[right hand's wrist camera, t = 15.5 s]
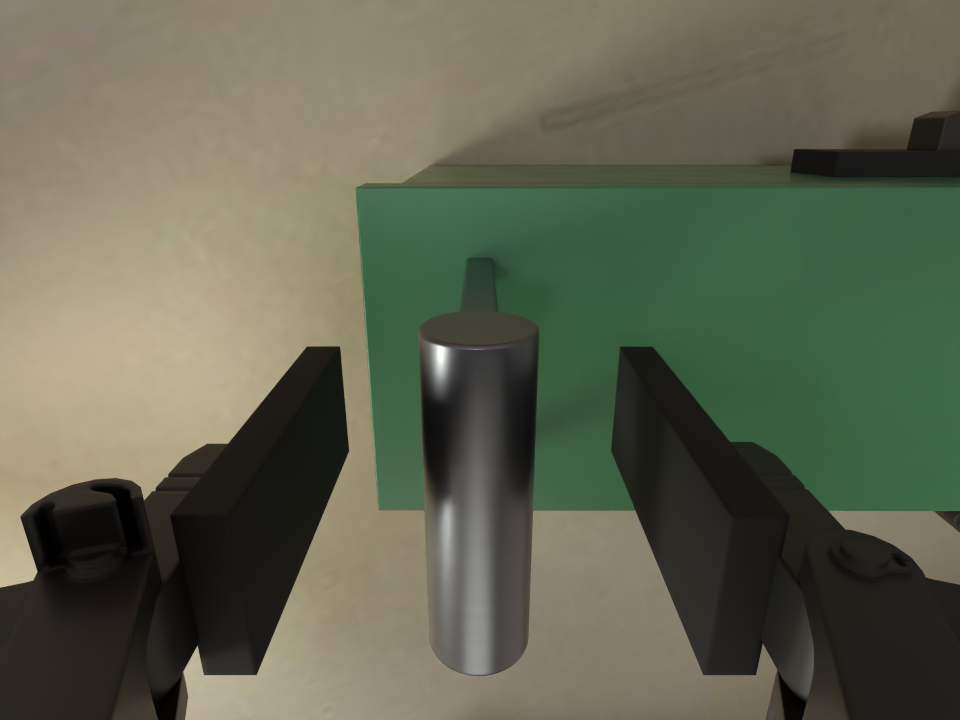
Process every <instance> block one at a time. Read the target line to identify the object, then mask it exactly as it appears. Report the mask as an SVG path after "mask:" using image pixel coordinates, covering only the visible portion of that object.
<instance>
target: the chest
mask: <svg viewBox="0 0 960 720" xmlns="http://www.w3.org/2000/svg"><path fill="white" fill-rule="evenodd" d="M791 166H792V165H430V166H429V167H427V168H426V169H424V170H422V171H421V172H419V173H418V174H416V175H414V176H413V177H411V178H410V179H408V180H406V181H405V182H403V183H614V184H960V177H829V176H821V175H812V174H804V173H796V172H791Z"/></svg>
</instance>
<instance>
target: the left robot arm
mask: <svg viewBox="0 0 960 720" xmlns="http://www.w3.org/2000/svg"><path fill="white" fill-rule="evenodd" d="M791 172H796V173H804V174H812V175H821V176H829V177H960V111H943V112H930V113H928V114H925V115H922V116H920V117H917V118H915V119H914V122H913V126H912V130H911V135H910V139H909V143H908V147H907V150H882V149H794V154H793V160H792V166H791ZM934 512H935V513H937V514H938V515H939V516H940V517H942V518H943V519H944V520H945V521H946V522H948V523H949V524H950V525H951V526H953V527H954V528H955V529H956V530H957V531H959V532H960V511H934Z"/></svg>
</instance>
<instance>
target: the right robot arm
mask: <svg viewBox="0 0 960 720" xmlns="http://www.w3.org/2000/svg"><path fill="white" fill-rule="evenodd" d="M348 452H349V445H348V433H347V422H346V410H345V399H344V387H343V376H342V364H341V353H340V347H306V349H305V350H304V351H303V352H302V354H301V355H300V356H299V357H298V358H297V360H296V361H295V362H294V363H293V365H292V366H291V367H290V368H289V370H288V371H287V372H286V373H285V374H284V376H283V377H282V378H281V379H280V381H279V382H278V383H277V384H276V386H275V387H274V388H273V389H272V390H271V392H270V393H269V394H268V395H267V397H266V398H265V399H264V400H263V402H262V403H261V404H260V405H259V406H258V408H257V409H256V410H255V411H254V413H253V414H252V415H251V416H250V418H249V419H248V420H247V421H246V422H245V424H244V425H243V426H242V427H241V429H240V430H239V431H238V432H237V434H236V435H235V436H234V437H233V438H232V440H231V441H230V442H229V443H228V444H206V445H204V446H203V447H201V448H199V449H198V450H196V451H194V452H192V453H191V454H189V455H187V456H186V457H184V458H183V459H182V460H181V461H180V462H179V463H178V464H177V465H176V466H175V467H174V469H173V470H172V471H171V472H170V473H169V474H168V477H165V478H164V479H163V481H162V482H161V483H160V484H159V485H158V486H157V487H156V491H153V492H152V493H151V494H150V495H149V496H148V497H147V498H146V499H145V500H144V499H143V495H142V490H141V487H140V486H138V485H137V484H135V483H134V482H133V481H130V480H124V479H118V478H111V479H96V480H91V481H87V482H83V483H78V484H74V485H71V486H68V487H66V488H63V489H61V490H58V491H56V492H53V493H51V494H49V495H47V496H46V497H44V498H42V499H41V500H39V501H37V502H36V503H34V504H32V505H31V506H30V507H29V508H28V509H27V510H26V511H25V512H24V513H23V514H22V515H21V516H20V517H21V520H22V524H23V527H24V530H25V533H26V536H27V539H28V543H29V546H30V549H31V552H32V555H33V558H34V561H35V565H36V568H37V571H38V573H37V575H36V576H35V578H34V580H33V581H30V582H26V583H21V584H16V585H11V586H7V587H2V588H0V720H185V716H186V708H187V700H188V694H187V687H186V682H185V677H184V673H183V671H184V669H185V667H186V665H187V664H188V662H189V660H190V658H191V656H192V654H193V653H194V651H195V649H196V647H197V645H198V649H199V654H200V658H201V663H202V668H203V672H204V675H257V673H258V670H259V668H260V665H261V663H262V661H263V658H264V656H265V653H266V651H267V648H268V646H269V644H270V641H271V639H272V636H273V634H274V631H275V629H276V627H277V624H278V622H279V619H280V617H281V615H282V612H283V610H284V607H285V605H286V602H287V600H288V598H289V595H290V593H291V590H292V588H293V585H294V583H295V581H296V578H297V576H298V573H299V571H300V568H301V566H302V564H303V561H304V559H305V556H306V554H307V552H308V549H309V547H310V544H311V542H312V539H313V537H314V535H315V532H316V530H317V527H318V525H319V522H320V520H321V518H322V515H323V513H324V510H325V508H326V506H327V503H328V501H329V498H330V496H331V493H332V491H333V489H334V486H335V484H336V481H337V479H338V476H339V474H340V472H341V469H342V467H343V464H344V462H345V460H346V457H347V455H348ZM611 452H612V455H613V457H614V460H615V462H616V464H617V467H618V469H619V472H620V474H621V476H622V479H623V481H624V484H625V486H626V489H627V491H628V493H629V496H630V498H631V501H632V503H633V506H634V508H635V510H636V513H637V515H638V518H639V520H640V523H641V525H642V527H643V530H644V532H645V535H646V537H647V539H648V542H649V544H650V547H651V549H652V552H653V554H654V556H655V559H656V561H657V564H658V566H659V569H660V571H661V573H662V576H663V578H664V581H665V583H666V585H667V588H668V590H669V593H670V595H671V598H672V600H673V602H674V605H675V607H676V610H677V612H678V615H679V617H680V619H681V622H682V624H683V627H684V629H685V631H686V634H687V636H688V639H689V641H690V644H691V646H692V648H693V651H694V653H695V656H696V658H697V661H698V663H699V665H700V668H701V670H702V673H703V675H756V672H757V667H758V663H759V658H760V653H761V649H762V644H764V646H765V648H766V650H767V651H768V653H769V655H770V657H771V659H772V660H773V662H774V664H775V666H776V668H777V673H776V677H775V682H774V686H773V690H772V695H771V699H770V703H769V708H768V712H767V716H766V720H960V585H957V584H952V583H947V582H942V581H938V580H933V579H929V578H926V577H925V575H924V573H923V571H922V570H921V569H920V568H919V566H918V565H917V564H916V563H915V561H914V560H913V559H912V558H911V557H910V556H908V555H907V554H905V553H904V552H903V551H901V550H900V549H898V548H897V547H895V546H894V545H892V544H890V543H887V542H885V541H883V540H881V539H879V538H876V537H874V536H871V535H867V534H864V533H860V532H856V531H852V530H845V529H844V528H843V527H842V526H841V525H840V523H839V522H838V521H837V520H836V519H835V518H834V517H833V516H832V515H831V514H830V513H829V512H828V510H827V509H826V508H825V507H824V506H823V505H822V504H821V503H820V502H819V501H818V500H817V499H816V497H815V496H814V495H813V494H812V493H811V492H810V491H809V490H808V489H805V486H804V484H803V483H802V482H801V481H800V480H799V479H798V478H797V477H796V476H795V475H792V471H791V470H790V469H789V468H788V467H787V466H786V465H785V464H784V463H783V462H782V461H781V460H780V458H779V457H778V456H777V455H775V454H773V453H771V452H770V451H768V450H766V449H764V448H763V447H761V446H759V445H758V444H756V443H754V442H730V441H729V440H728V438H727V437H726V436H725V435H724V434H723V432H722V431H721V430H720V429H719V427H718V426H717V425H716V424H715V422H714V421H713V420H712V419H711V418H710V416H709V415H708V414H707V413H706V411H705V410H704V409H703V408H702V406H701V405H700V404H699V403H698V402H697V400H696V399H695V398H694V397H693V395H692V394H691V393H690V392H689V390H688V389H687V388H686V387H685V386H684V384H683V383H682V382H681V381H680V379H679V378H678V377H677V376H676V374H675V373H674V372H673V371H672V370H671V368H670V367H669V366H668V365H667V363H666V362H665V361H664V360H663V358H662V357H661V356H660V355H659V354H658V352H657V351H656V350H655V349H654V347H620V352H619V364H618V376H617V387H616V399H615V410H614V422H613V433H612V445H611Z"/></svg>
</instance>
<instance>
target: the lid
mask: <svg viewBox="0 0 960 720" xmlns="http://www.w3.org/2000/svg"><path fill="white" fill-rule="evenodd" d="M356 199H357V213H358V228H359V242H360V256H361V271H362V285H363V299H364V314H365V328H366V342H367V356H368V371H369V385H370V399H371V414H372V428H373V442H374V457H375V471H376V485H377V499H378V509H379V510H425V530H426V557H427V583H428V609H429V636H430V644H431V647H432V649H433V651H434V653H435V655H436V656H437V657H438V659H439V660H440V661H441V662H442V663H443V664H445V665H446V666H447V667H449V668H451V669H452V670H454V671H457V672H459V673H463V674H467V675H474V676H484V675H491V674H495V673H499V672H501V671H503V670H505V669H507V668H509V667H510V666H512V665H513V664H514V663H516V662H517V661H518V660H519V658H520V657H521V656H522V654H523V653H524V651H525V649H526V646H527V643H528V632H529V604H530V577H531V550H532V522H533V510H635V508H634V506H633V503H632V501H631V498H630V496H629V493H628V491H627V489H626V486H625V484H624V481H623V479H622V476H621V474H620V472H619V469H618V467H617V464H616V462H615V460H614V457H613V455H612V452H611V445H612V433H613V422H614V410H615V399H616V387H617V376H618V364H619V352H620V347H654V349H655V350H656V351H657V352H658V354H659V355H660V356H661V357H662V358H663V360H664V361H665V362H666V363H667V365H668V366H669V367H670V368H671V370H672V371H673V372H674V373H675V374H676V376H677V377H678V378H679V379H680V381H681V382H682V383H683V384H684V386H685V387H686V388H687V389H688V390H689V392H690V393H691V394H692V395H693V397H694V398H695V399H696V400H697V402H698V403H699V404H700V405H701V406H702V408H703V409H704V410H705V411H706V413H707V414H708V415H709V416H710V418H711V419H712V420H713V421H714V422H715V424H716V425H717V426H718V427H719V429H720V430H721V431H722V432H723V434H724V435H725V436H726V437H727V438H728V440H729V441H730V442H754V443H756V444H758V445H759V446H761V447H763V448H764V449H766V450H768V451H770V452H771V453H773V454H775V455H777V456H778V457H779V458H780V460H781V461H782V462H783V463H784V464H785V465H786V466H787V467H788V468H789V469H790V470H791V471H792V475H795V476H796V477H797V478H798V479H799V480H800V481H801V482H802V483H803V484H804V486H805V489H808V490H809V491H810V492H811V493H812V494H813V495H814V496H815V497H816V499H817V500H818V501H819V502H820V503H821V504H822V505H823V506H824V507H825V508H826V509H827V510H828V511H960V184H614V183H366V184H363V185H361V186H359V187H356Z"/></svg>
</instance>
